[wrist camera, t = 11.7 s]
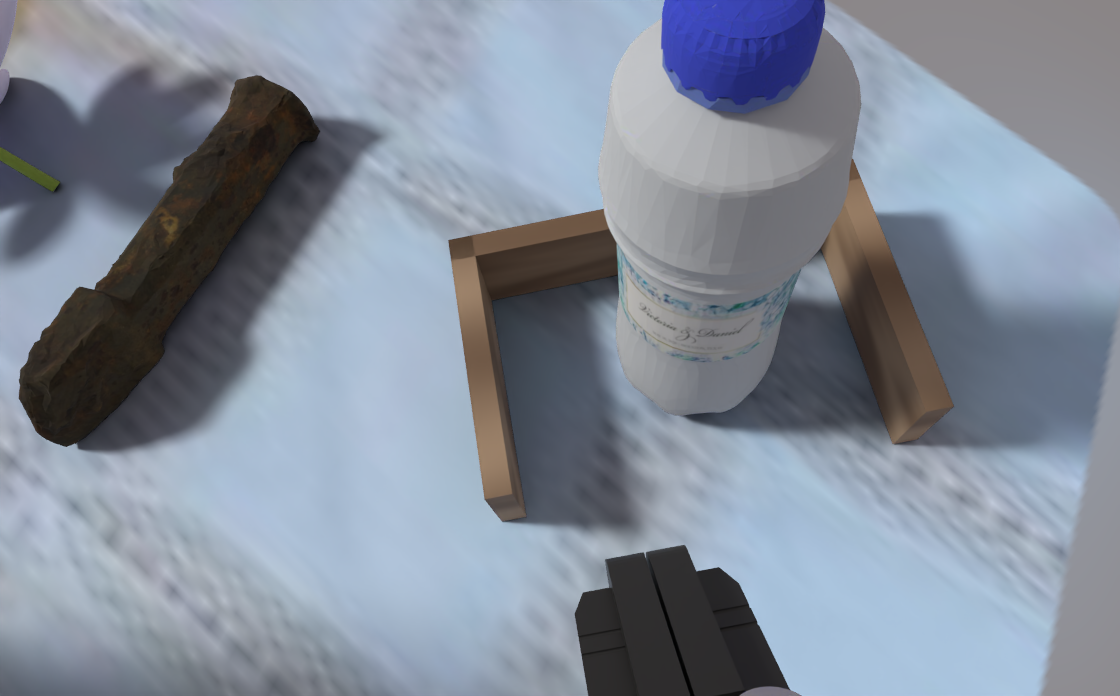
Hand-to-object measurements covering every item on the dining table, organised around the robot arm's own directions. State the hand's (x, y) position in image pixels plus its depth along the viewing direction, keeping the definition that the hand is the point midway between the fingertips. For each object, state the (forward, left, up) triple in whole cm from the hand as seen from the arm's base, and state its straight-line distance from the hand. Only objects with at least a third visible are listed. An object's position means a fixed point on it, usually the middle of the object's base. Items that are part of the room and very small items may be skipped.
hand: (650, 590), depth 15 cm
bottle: (+10, +5, -17) cm, 20 cm away
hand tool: (0, +26, -17) cm, 31 cm away
